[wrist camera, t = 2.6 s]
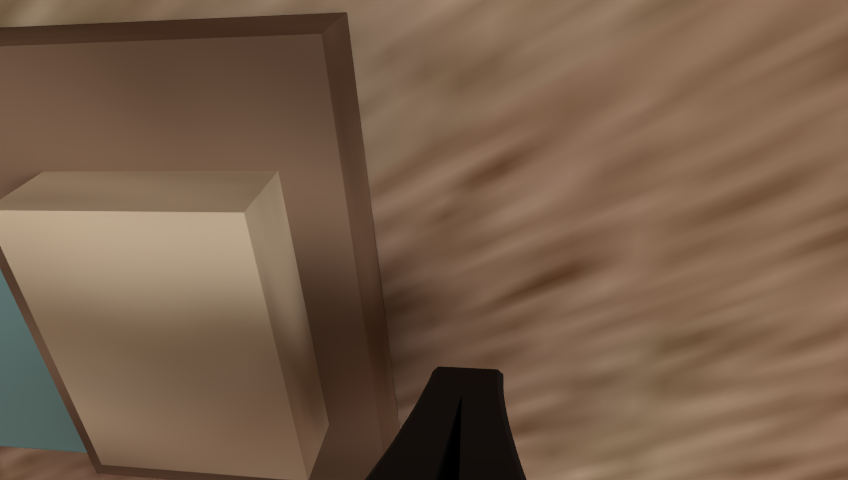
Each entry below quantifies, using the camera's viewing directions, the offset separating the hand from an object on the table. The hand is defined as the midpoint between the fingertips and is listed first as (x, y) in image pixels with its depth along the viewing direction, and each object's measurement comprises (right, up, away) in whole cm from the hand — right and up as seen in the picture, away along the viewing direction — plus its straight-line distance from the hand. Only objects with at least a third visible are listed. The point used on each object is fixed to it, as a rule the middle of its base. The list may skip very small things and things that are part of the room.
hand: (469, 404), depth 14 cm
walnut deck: (-7, +3, +6) cm, 9 cm away
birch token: (-7, +2, +4) cm, 8 cm away
